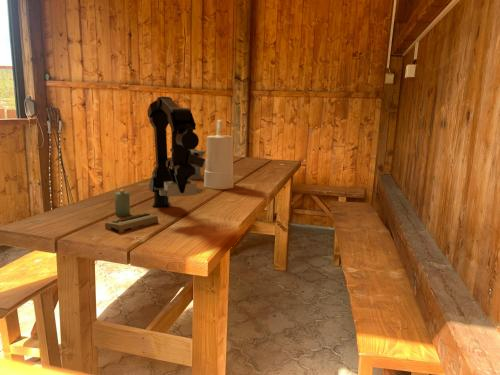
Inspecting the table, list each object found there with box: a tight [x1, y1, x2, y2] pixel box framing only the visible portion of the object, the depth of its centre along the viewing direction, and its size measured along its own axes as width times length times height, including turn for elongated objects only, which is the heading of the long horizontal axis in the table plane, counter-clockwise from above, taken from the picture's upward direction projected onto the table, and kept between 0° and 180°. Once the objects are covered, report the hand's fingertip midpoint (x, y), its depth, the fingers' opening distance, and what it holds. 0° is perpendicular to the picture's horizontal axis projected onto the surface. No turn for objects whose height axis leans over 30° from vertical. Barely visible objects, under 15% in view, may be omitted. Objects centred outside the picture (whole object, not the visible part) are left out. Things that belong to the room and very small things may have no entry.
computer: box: [104, 213, 159, 234], centre depth 130 cm, size 16×8×3 cm, turn 143°
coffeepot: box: [188, 148, 206, 180], centre depth 215 cm, size 15×9×18 cm, turn 103°
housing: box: [159, 179, 202, 197], centre depth 135 cm, size 14×6×5 cm, turn 113°
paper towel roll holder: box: [203, 119, 235, 190], centre depth 195 cm, size 15×15×33 cm
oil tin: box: [114, 189, 131, 217], centre depth 141 cm, size 5×5×9 cm
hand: (180, 190), depth 135 cm, fingers closed on housing, 6 cm apart
